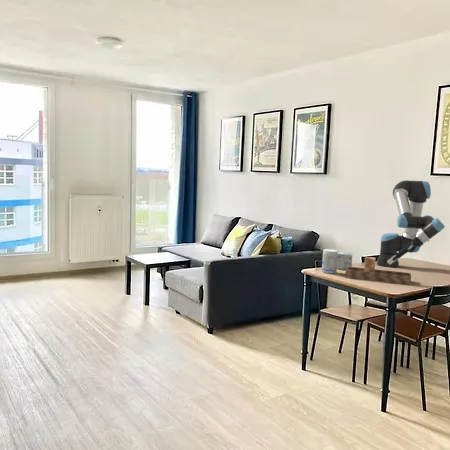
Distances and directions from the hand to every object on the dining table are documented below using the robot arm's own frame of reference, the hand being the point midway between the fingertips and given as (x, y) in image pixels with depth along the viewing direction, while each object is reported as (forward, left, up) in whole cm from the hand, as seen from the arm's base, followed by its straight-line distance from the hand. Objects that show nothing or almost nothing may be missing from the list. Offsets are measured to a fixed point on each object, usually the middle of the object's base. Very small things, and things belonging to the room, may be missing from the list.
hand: (388, 263), depth 294 cm
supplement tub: (+29, -23, -11) cm, 38 cm away
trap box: (+5, -3, -11) cm, 12 cm away
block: (+10, -5, -8) cm, 13 cm away
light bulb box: (+14, -35, -11) cm, 39 cm away
